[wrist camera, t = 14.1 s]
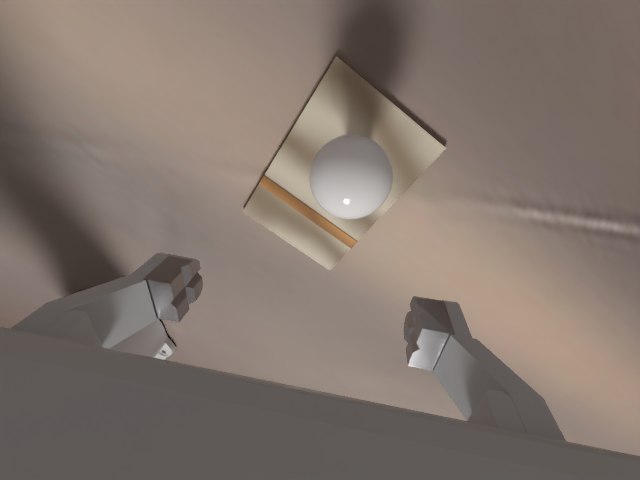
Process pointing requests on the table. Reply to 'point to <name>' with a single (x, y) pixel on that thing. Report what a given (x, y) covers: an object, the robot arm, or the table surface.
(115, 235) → the table surface
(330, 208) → the lightbulb
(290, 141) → the board
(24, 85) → the table surface
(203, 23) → the table surface
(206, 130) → the table surface
